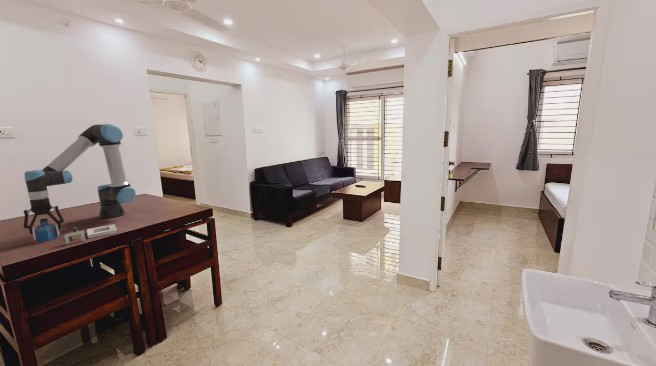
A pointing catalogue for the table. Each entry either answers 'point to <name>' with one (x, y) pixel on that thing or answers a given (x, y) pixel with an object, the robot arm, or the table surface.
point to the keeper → (72, 235)
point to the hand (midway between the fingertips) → (47, 236)
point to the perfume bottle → (45, 231)
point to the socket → (101, 231)
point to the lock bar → (75, 235)
